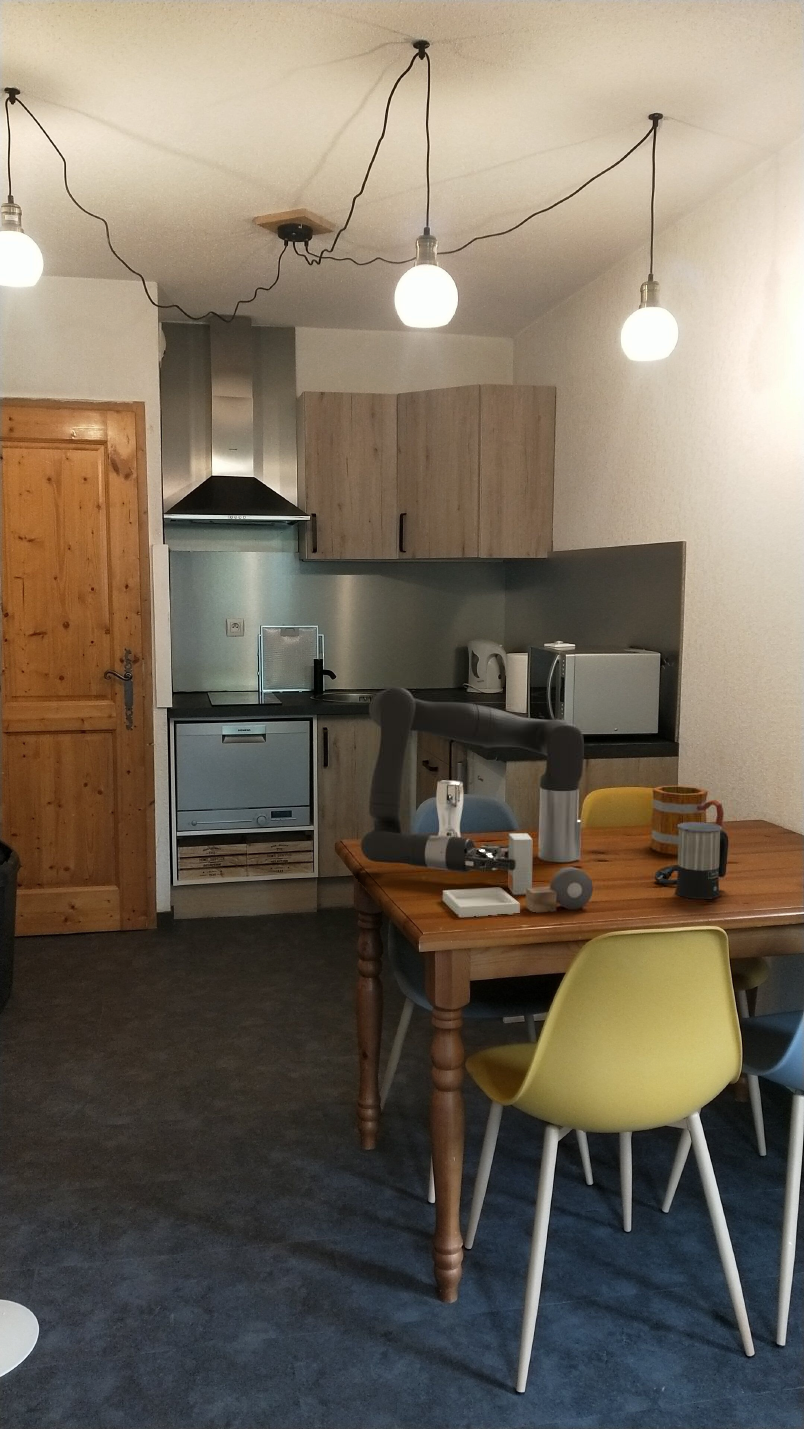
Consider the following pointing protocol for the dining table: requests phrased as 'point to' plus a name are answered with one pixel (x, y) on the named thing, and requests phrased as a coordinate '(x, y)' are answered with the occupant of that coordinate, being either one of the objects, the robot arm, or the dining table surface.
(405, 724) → the robot arm
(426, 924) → the dining table surface
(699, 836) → the milk frother
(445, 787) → the beer glass
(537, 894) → the walnut block
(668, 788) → the mug
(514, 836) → the skincare box
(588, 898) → the trolley wheel
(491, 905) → the tray
